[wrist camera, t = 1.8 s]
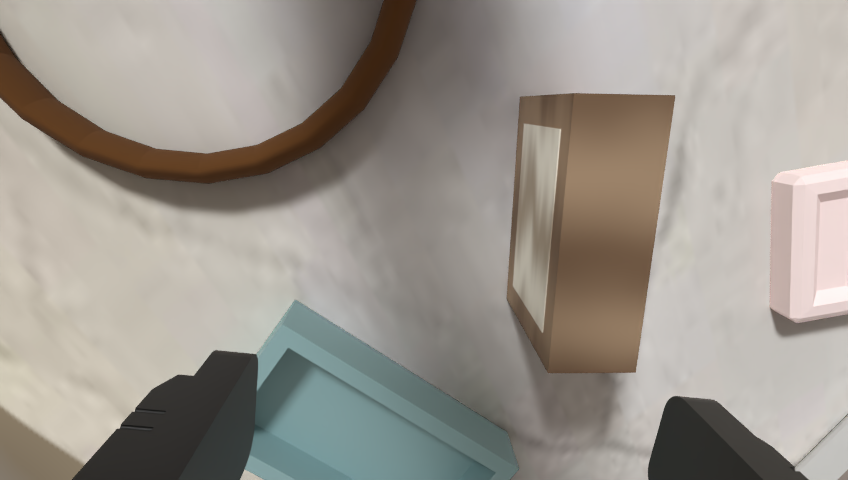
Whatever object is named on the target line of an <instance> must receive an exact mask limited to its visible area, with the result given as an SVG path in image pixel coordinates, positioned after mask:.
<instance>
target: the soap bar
mask: <svg viewBox="0 0 848 480" xmlns="http://www.w3.org/2000/svg"><path fill="white" fill-rule="evenodd" d="M770 308H772V309H773V310H774V311H776V312H777V313H779V314H781V315H783V316H784V317H786V318H788V319H790V320H792V321H793V322H795V323H801V322H807V321H812V320H818V319H824V318H829V317H835V316H841V315H846V314H848V160H846V161H841V162H835V163H829V164H824V165H818V166H812V167H807V168H801V169H795V170H790V171H784V172H779V173H778V174H777V175H776V177H775V178H774V179H773V180H772V187H771V247H770Z"/></svg>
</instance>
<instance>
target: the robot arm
mask: <svg viewBox="0 0 848 480" xmlns="http://www.w3.org/2000/svg"><path fill="white" fill-rule="evenodd" d="M257 379H258V357H257V355H256V354H249V353H238V352H228V351H218V350H215V351H213V352H212V353H211V355H210V356H209V357H208V358H207V360H206V361H205V362H204V364H203V365H202V366H201V367H200V369H199V370H198V371H197V373H196V374H195V375H194V376H188V375H177V376H175V377H173V378H172V379H170V380H168V381H166V382H164V383H163V384H161V385H159V386H157V387H155V388H154V389H152V390H151V391H150V392H149V394H148V395H147V396H146V397H145V398H144V399H143V400H142V401H141V403H140V404H139V405H138V406H137V407H136V409H135V412H132V413H131V414H130V415H129V416H128V417H127V418H126V419H125V421H124V422H123V423H122V424H121V427H120V429H116V431H115V432H114V433H113V434H112V435H111V436H110V437H109V438H108V440H107V441H106V442H105V443H104V444H103V445H102V446H101V447H100V449H99V450H98V451H97V452H96V453H95V454H94V455H93V456H92V458H91V459H90V460H89V461H88V462H87V463H86V464H85V465H84V466H83V468H82V469H81V470H80V471H79V472H78V473H77V474H76V475H75V477H74V478H73V479H72V480H240V478H241V476H242V474H243V471H244V469H245V467H246V464H247V461H248V458H249V455H250V451H251V447H252V442H253V437H254V428H255V412H256V395H257ZM648 479H649V480H809V479H808V478H806V477H805V476H804V475H803V474H802V473H801V472H800V471H795V467H794V466H793V465H792V464H791V463H790V462H789V461H787V460H786V459H785V458H784V457H783V456H782V455H781V454H780V453H779V452H777V451H776V450H775V449H774V448H773V447H772V446H770V445H769V444H767V443H765V442H764V441H762V440H761V439H759V438H757V437H756V436H755V435H753V434H752V433H751V432H750V431H749V430H748V429H747V428H746V427H745V426H744V425H742V424H741V423H740V422H739V421H738V420H737V419H736V418H735V417H734V416H733V415H731V414H730V413H729V412H728V411H727V410H726V409H725V408H724V407H723V406H722V405H721V404H719V403H718V402H717V401H715V400H711V399H701V398H690V397H680V396H674V397H672V398H670V399H669V400H668V402H667V403H666V405H665V408H664V411H663V415H662V419H661V422H660V426H659V429H658V433H657V436H656V440H655V443H654V447H653V451H652V454H651V458H650V461H649V467H648Z"/></svg>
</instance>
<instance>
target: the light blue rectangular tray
mask: <svg viewBox="0 0 848 480" xmlns="http://www.w3.org/2000/svg"><path fill="white" fill-rule="evenodd" d="M256 355H257V357H258V379H257V395H256V412H255V428H254V437H253V442H252V447H251V451H250V455H249V458H248V461H247V464H246V467H245V470H247V471H249V472H251V473H253V474H255V475H257V476H258V477H260V478H262V479H264V480H510V479H511V478H512V477H513V475H514V474H515V473H516V472H517V471H518V470H519V467H518V464H517V461H516V458H515V455H514V452H513V449H512V445H511V442H510V439H509V436H508V433H507V432H506V431H504V430H503V429H501V428H500V427H498V426H496V425H495V424H493V423H492V422H490V421H488V420H487V419H485V418H484V417H482V416H480V415H479V414H477V413H476V412H474V411H472V410H471V409H469V408H468V407H466V406H464V405H463V404H461V403H460V402H458V401H456V400H455V399H453V398H452V397H450V396H448V395H447V394H445V393H444V392H442V391H440V390H439V389H437V388H436V387H434V386H432V385H431V384H429V383H428V382H426V381H425V380H423V379H421V378H420V377H418V376H417V375H415V374H413V373H412V372H410V371H409V370H407V369H405V368H404V367H402V366H401V365H399V364H397V363H396V362H394V361H393V360H391V359H389V358H388V357H386V356H385V355H383V354H381V353H380V352H378V351H377V350H375V349H373V348H372V347H370V346H369V345H367V344H365V343H364V342H362V341H361V340H359V339H357V338H356V337H354V336H353V335H351V334H349V333H348V332H346V331H345V330H343V329H341V328H340V327H338V326H337V325H335V324H333V323H332V322H330V321H329V320H327V319H325V318H324V317H322V316H321V315H319V314H317V313H316V312H314V311H313V310H311V309H309V308H308V307H306V306H305V305H303V304H301V303H300V302H298V301H297V300H295V301H294V302H293V304H292V305H291V306H290V308H289V309H288V311H287V312H286V313H285V315H284V316H283V318H282V319H281V321H280V322H279V323H278V325H277V326H276V328H275V329H274V330H273V332H272V333H271V335H270V336H269V337H268V339H267V340H266V342H265V343H264V345H263V346H262V347H261V349H260V350H259V352H258V353H257V354H256Z"/></svg>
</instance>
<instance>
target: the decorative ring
mask: <svg viewBox="0 0 848 480" xmlns="http://www.w3.org/2000/svg"><path fill="white" fill-rule="evenodd" d="M416 1H417V0H384V1H383V4H382V7H381V11H380V14H379V17H378V20H377V23H376V26H375V30H374V33H373V36H372V39H371V42H370V44H369V45H368V47H367V48H366V50H365V51H364V53H363V55H362V56H361V58H360V59H359V61H358V62H357V64H356V66H355V67H354V69H353V70H352V72H351V73H350V75H349V77H348V78H347V80H346V81H345V83H344V85H343V86H342V88H341V89H340V90H339V91H338V92H336V93H335V94H334V95H333V96H332V97H331V98H330V99H329V100H327V101H326V102H325V103H324V104H323V105H322V106H321V107H320V108H319V109H317V110H316V111H315V112H314V113H313V114H312V115H311V116H310V117H309V118H307V119H306V120H305V121H304V122H303V123H302V124H299V125H297V126H295V127H293V128H291V129H289V130H287V131H285V132H283V133H281V134H279V135H277V136H275V137H273V138H271V139H268V140H266V141H264V142H262V143H260V144H258V145H254V146H249V147H243V148H237V149H232V150H226V151H220V152H214V153H209V154H205V153H194V152H183V151H172V150H162V149H155V148H152V147H149V146H146V145H143V144H141V143H138V142H135V141H132V140H129V139H126V138H124V137H121V136H118V135H115V134H112V133H109V132H107V131H105V130H103V129H102V128H100V127H98V126H97V125H95V124H94V123H92V122H91V121H89V120H87V119H86V118H84V117H83V116H81V115H80V114H78V113H77V112H75V111H73V110H72V109H70V108H69V107H67V106H66V105H64V104H62V103H61V102H59V101H58V100H57V99H56V98H55V97H54V96H53V95H52V94H51V93H50V92H49V91H48V90H47V89H46V88H45V87H44V86H43V85H42V84H41V83H40V82H39V81H38V80H37V79H36V78H35V77H34V76H33V75H32V74H31V73H30V72H29V71H28V70H27V69H26V68H25V67H24V66H23V65H22V64H21V63H20V62H19V61H18V60H17V59H16V58H15V56H14V55H13V53H12V52H11V50H10V49H9V47H8V46H7V44H6V42H5V41H4V39H3V38H2V36H1V35H0V98H1V99H2V100H3V101H4V102H5V103H6V104H7V105H8V106H9V107H10V108H12V109H13V110H14V111H15V112H16V113H17V114H18V115H19V116H20V117H21V118H22V119H23V120H25V121H27V122H28V123H30V124H31V125H33V126H35V127H36V128H38V129H39V130H41V131H43V132H44V133H46V134H47V135H49V136H51V137H52V138H54V139H55V140H57V141H59V142H60V143H62V144H64V145H65V146H67V147H68V148H70V149H72V150H73V151H75V152H76V153H78V154H80V155H81V156H83V157H86V158H89V159H92V160H95V161H98V162H101V163H103V164H106V165H109V166H112V167H115V168H118V169H121V170H124V171H127V172H130V173H133V174H135V175H138V176H141V177H144V178H151V179H162V180H173V181H185V182H196V183H208V184H209V183H215V182H221V181H226V180H232V179H238V178H243V177H249V176H255V175H261V174H266V173H269V172H271V171H273V170H275V169H277V168H280V167H282V166H284V165H286V164H288V163H290V162H292V161H294V160H296V159H298V158H300V157H303V156H305V155H307V154H309V153H311V152H313V151H315V150H317V149H319V148H321V147H322V146H323V145H324V144H325V143H326V142H327V141H329V140H330V139H331V138H332V137H333V136H334V135H335V134H337V133H338V132H339V131H340V130H341V129H342V128H343V127H344V126H346V125H347V124H348V123H349V122H350V121H351V120H352V119H353V118H355V117H356V116H357V115H358V114H359V113H360V112H361V111H363V110H364V108H365V107H366V105H367V104H368V102H369V101H370V99H371V98H372V96H373V95H374V93H375V91H376V90H377V88H378V87H379V85H380V84H381V82H382V81H383V79H384V78H385V76H386V75H387V73H388V72H389V70H390V68H391V67H392V65H393V64H394V62H395V61H396V59H397V58H398V55H399V52H400V49H401V46H402V43H403V40H404V37H405V34H406V31H407V28H408V25H409V22H410V19H411V16H412V13H413V10H414V7H415V4H416Z"/></svg>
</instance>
